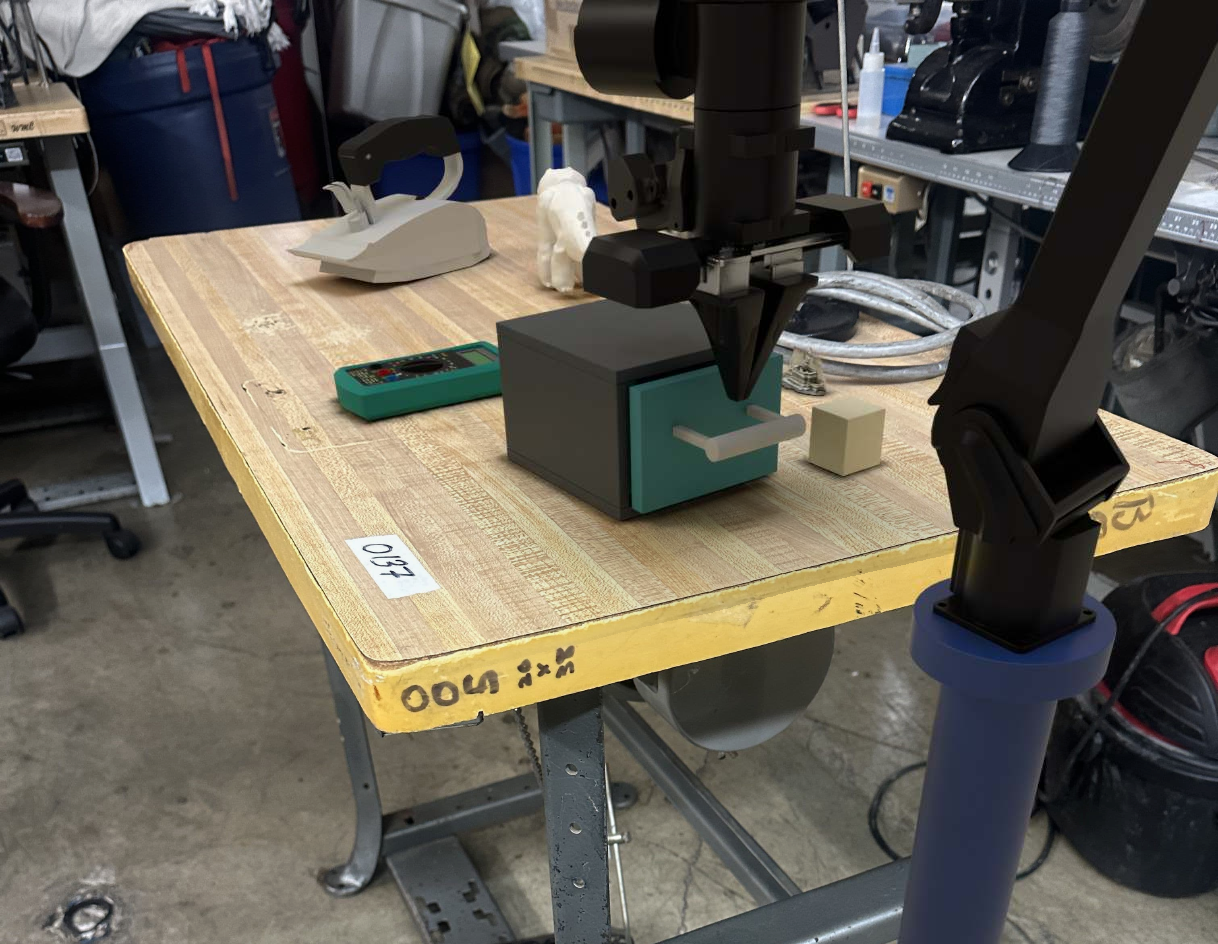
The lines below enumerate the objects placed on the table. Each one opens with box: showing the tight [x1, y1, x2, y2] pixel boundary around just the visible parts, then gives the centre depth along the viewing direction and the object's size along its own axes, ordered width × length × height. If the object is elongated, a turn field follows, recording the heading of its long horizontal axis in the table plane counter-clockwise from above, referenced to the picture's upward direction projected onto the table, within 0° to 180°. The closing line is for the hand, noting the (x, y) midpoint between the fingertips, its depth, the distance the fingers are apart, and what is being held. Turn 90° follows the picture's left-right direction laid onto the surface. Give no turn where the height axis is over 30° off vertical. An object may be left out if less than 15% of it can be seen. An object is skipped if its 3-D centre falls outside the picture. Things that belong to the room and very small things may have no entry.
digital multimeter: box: [333, 340, 502, 421], centre depth 97 cm, size 7×15×3 cm, turn 119°
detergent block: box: [807, 395, 887, 477], centre depth 82 cm, size 4×4×4 cm
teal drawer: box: [626, 350, 807, 515], centre depth 78 cm, size 18×11×8 cm, turn 34°
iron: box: [285, 114, 492, 284], centre depth 130 cm, size 11×24×15 cm, turn 139°
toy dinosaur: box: [535, 166, 600, 294], centre depth 120 cm, size 7×24×11 cm, turn 15°
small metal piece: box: [782, 346, 827, 396], centre depth 96 cm, size 6×2×3 cm, turn 22°
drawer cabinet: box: [495, 298, 767, 522], centre depth 81 cm, size 15×13×10 cm
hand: (737, 399), depth 72 cm, fingers closed
